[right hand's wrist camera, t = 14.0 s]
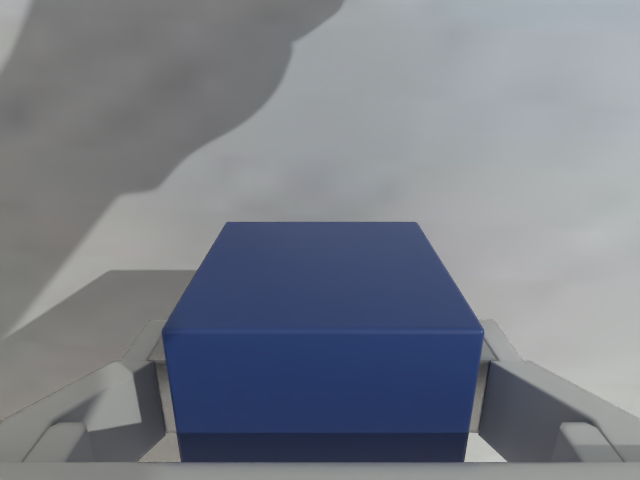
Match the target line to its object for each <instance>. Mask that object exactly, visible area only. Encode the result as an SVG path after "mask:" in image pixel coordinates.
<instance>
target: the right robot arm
mask: <svg viewBox="0 0 640 480" xmlns="http://www.w3.org/2000/svg"><path fill="white" fill-rule="evenodd" d="M166 322H167V320H151V321H148V322H147V324H146V325H145V327H144V328H143V330H142V331H141V333H140V334H139V335H138V337H137V338H136V340H135V341H134V343H133V344H132V346H131V347H130V349H129V350H128V351H127V353H126V354H125V356H124V357H123V359H122V360H121V361H113V362H111V363H109V364H107V365H106V366H104V367H102V368H100V369H98V370H96V371H94V372H92V373H90V374H89V375H87V376H85V377H83V378H81V379H79V380H77V381H75V382H74V383H72V384H70V385H68V386H66V387H64V388H62V389H60V390H58V391H57V392H55V393H53V394H51V395H49V396H47V397H45V398H43V399H42V400H40V401H38V402H36V403H34V404H32V405H30V406H28V407H26V408H25V409H23V410H21V411H19V412H17V413H15V414H13V415H11V416H10V417H8V418H6V419H4V420H2V421H1V422H0V480H640V419H639V418H638V417H636V416H634V415H632V414H630V413H628V412H626V411H624V410H622V409H621V408H619V407H617V406H615V405H613V404H611V403H609V402H607V401H605V400H603V399H602V398H600V397H598V396H596V395H594V394H592V393H590V392H588V391H586V390H585V389H583V388H581V387H579V386H577V385H575V384H573V383H571V382H569V381H567V380H566V379H564V378H562V377H560V376H558V375H556V374H554V373H552V372H550V371H549V370H547V369H545V368H543V367H541V366H539V365H537V364H535V363H533V362H531V361H523V359H522V358H521V357H520V355H519V354H518V352H517V351H516V350H515V348H514V347H513V345H512V344H511V343H510V341H509V340H508V338H507V337H506V336H505V334H504V333H503V331H502V330H501V328H500V327H499V326H498V324H497V323H496V321H494V320H492V319H489V320H479V322H480V324H481V325H482V327H483V328H484V331H485V333H484V339H483V346H482V352H481V358H480V365H479V371H478V377H477V384H476V390H475V396H474V402H473V409H472V415H471V421H470V428H469V433H479V434H478V435H479V436H481V437H482V438H483V439H484V440H485V441H486V442H487V443H488V444H489V445H490V446H491V447H492V448H493V449H495V450H496V451H497V452H498V453H499V454H500V455H501V456H502V457H503V458H504V459H505V460H506V461H507V462H137V461H138V460H139V459H140V458H142V457H143V456H144V455H145V454H146V453H147V452H148V451H149V450H150V449H151V448H152V447H153V446H154V445H155V444H156V443H158V442H159V441H160V440H161V439H162V438H163V437H164V436H165V435H166V434H165V433H174V432H176V425H175V419H174V412H173V406H172V399H171V393H170V386H169V380H168V373H167V367H166V360H165V354H164V347H163V340H162V334H161V331H162V328H163V327H164V325H165V323H166Z"/></svg>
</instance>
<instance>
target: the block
mask: <svg viewBox="0 0 640 480" xmlns="http://www.w3.org/2000/svg"><path fill="white" fill-rule="evenodd" d="M484 333H485V331H484V328H483V327H482V325H481V324H480V322H479V320H478V319H477V317H476V316H475V314H474V313H473V311H472V309H471V308H470V306H469V305H468V303H467V301H466V300H465V298H464V297H463V295H462V293H461V292H460V290H459V289H458V287H457V285H456V284H455V282H454V281H453V279H452V278H451V276H450V274H449V273H448V271H447V270H446V268H445V266H444V265H443V263H442V262H441V260H440V258H439V257H438V255H437V254H436V252H435V250H434V249H433V247H432V246H431V244H430V243H429V241H428V239H427V238H426V236H425V235H424V233H423V231H422V230H421V228H420V227H419V225H418V223H416V222H227V223H226V224H225V226H224V227H223V229H222V231H221V232H220V234H219V236H218V237H217V239H216V240H215V242H214V244H213V245H212V247H211V249H210V250H209V252H208V254H207V255H206V257H205V259H204V260H203V262H202V264H201V265H200V267H199V269H198V270H197V272H196V274H195V275H194V277H193V279H192V280H191V282H190V284H189V285H188V287H187V289H186V290H185V292H184V294H183V295H182V297H181V299H180V300H179V302H178V303H177V305H176V307H175V308H174V310H173V312H172V313H171V315H170V317H169V318H168V320H167V322H166V323H165V325H164V327H163V328H162V331H161V334H162V340H163V347H164V354H165V360H166V367H167V373H168V380H169V386H170V393H171V399H172V406H173V412H174V419H175V425H176V432H177V439H178V445H179V452H180V458H181V462H464V459H465V453H466V447H467V440H468V434H469V428H470V421H471V415H472V409H473V402H474V396H475V390H476V384H477V377H478V371H479V365H480V358H481V352H482V346H483V339H484Z"/></svg>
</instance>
